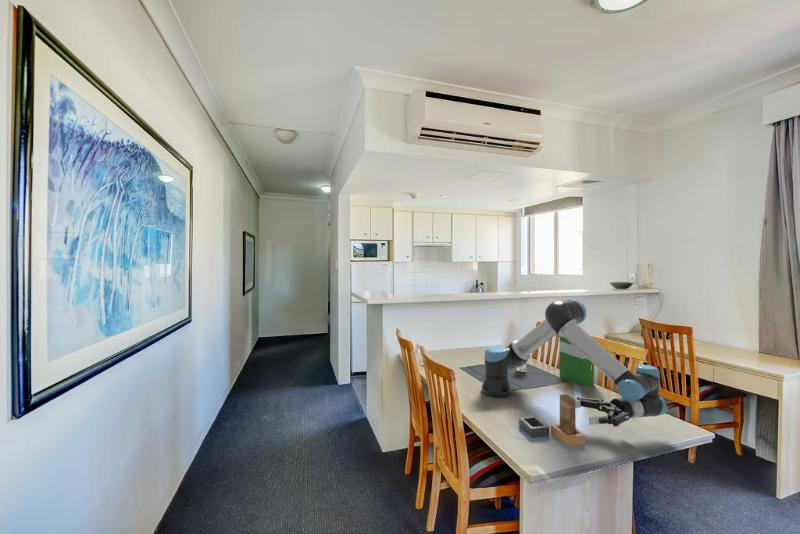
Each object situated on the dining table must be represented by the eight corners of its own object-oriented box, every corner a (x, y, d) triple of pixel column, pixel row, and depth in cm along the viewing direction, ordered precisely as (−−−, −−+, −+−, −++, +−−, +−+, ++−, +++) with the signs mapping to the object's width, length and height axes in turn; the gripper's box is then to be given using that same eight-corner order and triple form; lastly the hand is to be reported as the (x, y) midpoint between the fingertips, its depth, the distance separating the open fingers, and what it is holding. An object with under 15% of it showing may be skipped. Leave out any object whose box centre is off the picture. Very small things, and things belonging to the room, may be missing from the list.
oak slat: (568, 442, 124) (568, 399, 124) (559, 435, 129) (559, 394, 129) (575, 441, 125) (575, 399, 124) (566, 435, 130) (566, 394, 129)
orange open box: (566, 446, 122) (566, 436, 122) (551, 433, 131) (551, 424, 131) (584, 444, 123) (584, 435, 123) (568, 431, 132) (568, 422, 132)
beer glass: (526, 373, 204) (525, 349, 204) (514, 372, 208) (514, 348, 207) (528, 370, 210) (528, 346, 210) (517, 368, 213) (516, 345, 213)
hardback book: (559, 375, 200) (559, 336, 199) (570, 374, 202) (569, 335, 201) (582, 386, 183) (582, 342, 182) (593, 384, 184) (593, 341, 184)
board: (516, 440, 128) (516, 437, 128) (518, 424, 141) (518, 421, 141) (587, 454, 118) (587, 451, 118) (583, 435, 131) (583, 432, 131)
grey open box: (531, 437, 128) (531, 428, 128) (519, 426, 137) (518, 417, 137) (549, 436, 129) (549, 427, 129) (535, 424, 138) (535, 416, 138)
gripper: (655, 433, 118) (601, 439, 114) (601, 404, 142) (556, 408, 139) (655, 412, 118) (601, 417, 114) (601, 386, 142) (556, 390, 139)
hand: (576, 412), depth 127 cm, fingers open, 13 cm apart
